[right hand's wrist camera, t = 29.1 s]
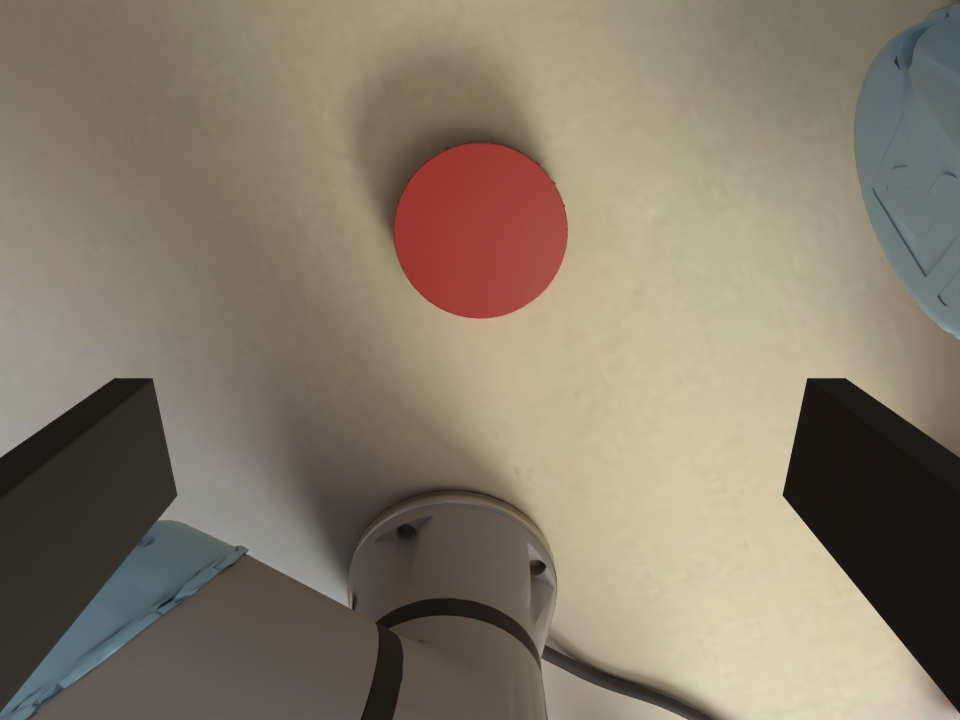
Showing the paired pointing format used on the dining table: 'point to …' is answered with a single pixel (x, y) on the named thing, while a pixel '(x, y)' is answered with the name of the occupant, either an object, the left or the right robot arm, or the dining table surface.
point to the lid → (480, 230)
